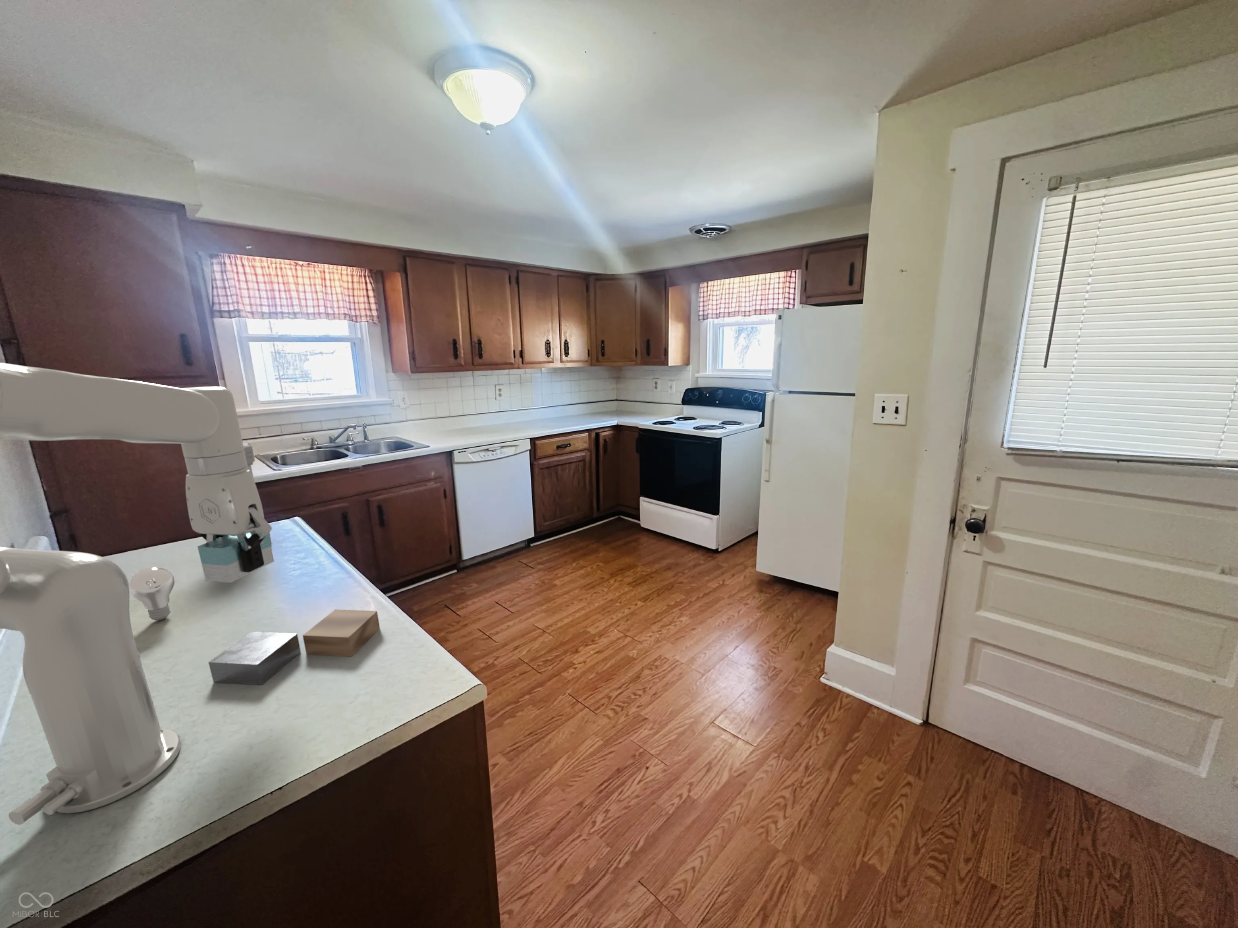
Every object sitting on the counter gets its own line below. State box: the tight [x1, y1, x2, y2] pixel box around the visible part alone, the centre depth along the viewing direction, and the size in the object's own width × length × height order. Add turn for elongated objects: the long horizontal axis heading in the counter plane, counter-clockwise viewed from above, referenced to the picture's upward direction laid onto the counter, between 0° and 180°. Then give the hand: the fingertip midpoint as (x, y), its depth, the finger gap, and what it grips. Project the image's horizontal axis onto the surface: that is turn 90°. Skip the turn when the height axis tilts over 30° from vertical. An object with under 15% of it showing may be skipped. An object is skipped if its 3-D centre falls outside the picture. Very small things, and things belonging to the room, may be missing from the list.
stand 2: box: [302, 609, 381, 658], centre depth 93 cm, size 9×9×4 cm
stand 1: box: [208, 631, 302, 686], centre depth 86 cm, size 9×9×4 cm
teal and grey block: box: [197, 532, 275, 584], centre depth 82 cm, size 8×5×6 cm, turn 169°
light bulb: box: [128, 565, 176, 622], centre depth 101 cm, size 7×7×12 cm
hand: (240, 566), depth 82 cm, fingers closed on teal and grey block, 5 cm apart
